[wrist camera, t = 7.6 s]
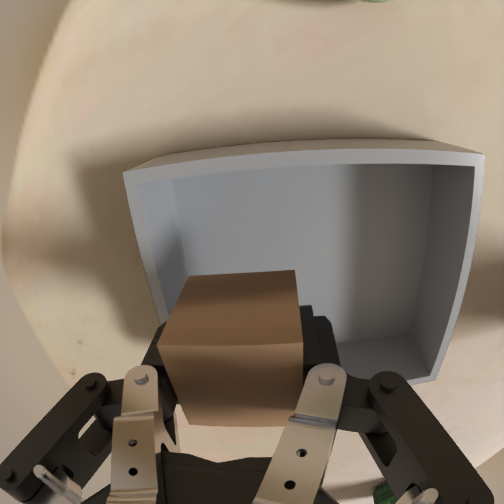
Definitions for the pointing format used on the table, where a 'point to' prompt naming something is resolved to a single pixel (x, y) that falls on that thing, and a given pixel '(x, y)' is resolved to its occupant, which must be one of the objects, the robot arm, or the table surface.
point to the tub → (324, 235)
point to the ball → (375, 1)
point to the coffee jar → (384, 495)
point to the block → (236, 349)
